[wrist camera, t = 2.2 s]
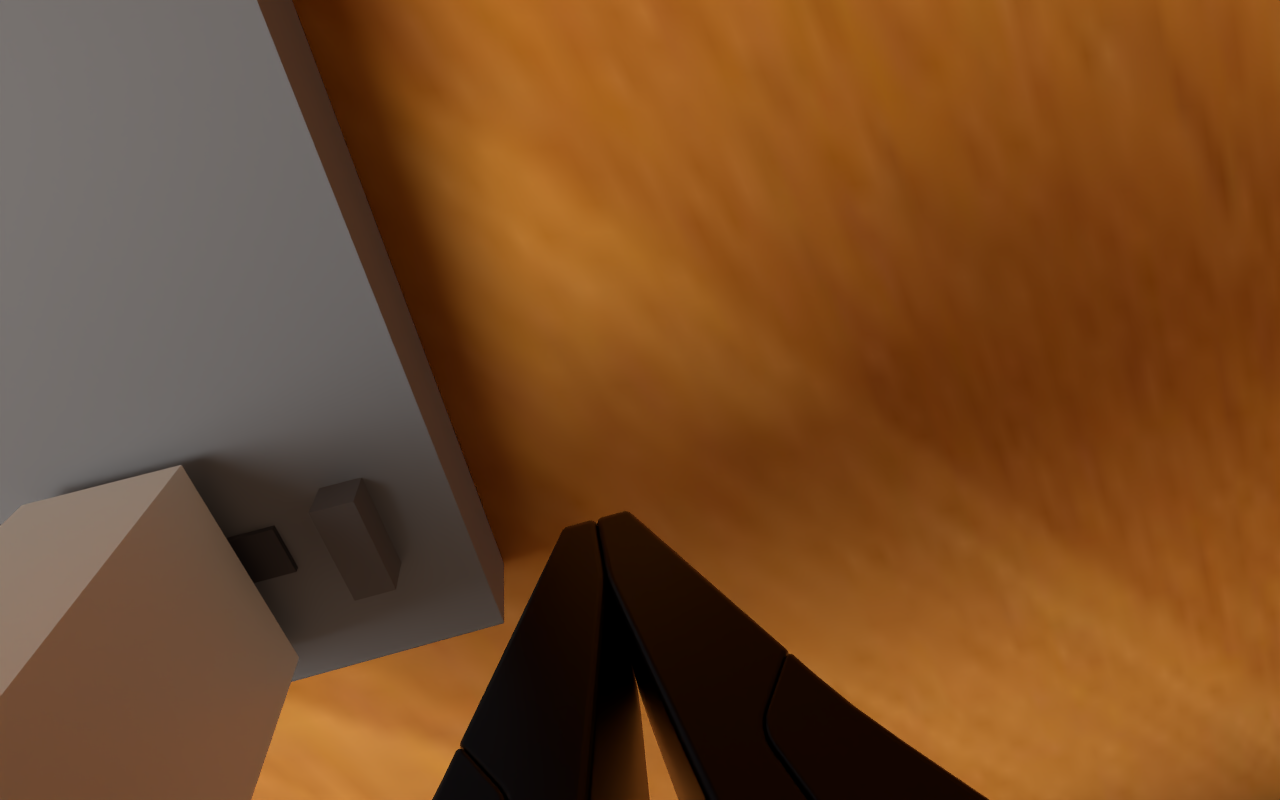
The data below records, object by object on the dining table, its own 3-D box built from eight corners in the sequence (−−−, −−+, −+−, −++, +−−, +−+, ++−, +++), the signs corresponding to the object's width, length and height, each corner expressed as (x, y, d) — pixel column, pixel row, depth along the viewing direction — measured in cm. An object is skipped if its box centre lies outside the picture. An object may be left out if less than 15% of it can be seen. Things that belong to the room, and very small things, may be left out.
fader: (299, 657, 11) (177, 1017, 7) (167, 693, 11) (-37, 1081, 7) (181, 465, 9) (-74, 793, 5) (22, 505, 9) (-371, 873, 5)
